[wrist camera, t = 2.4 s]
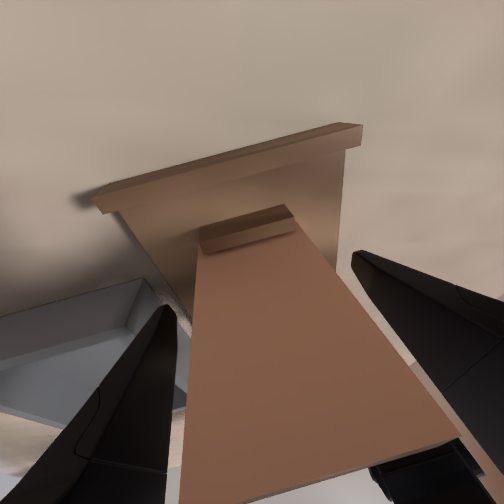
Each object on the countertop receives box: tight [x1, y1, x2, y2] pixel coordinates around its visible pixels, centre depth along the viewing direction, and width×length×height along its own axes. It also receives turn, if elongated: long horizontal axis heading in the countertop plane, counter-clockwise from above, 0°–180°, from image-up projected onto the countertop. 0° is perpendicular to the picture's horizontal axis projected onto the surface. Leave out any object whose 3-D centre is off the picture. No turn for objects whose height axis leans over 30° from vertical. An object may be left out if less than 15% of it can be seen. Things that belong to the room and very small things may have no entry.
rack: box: [91, 122, 363, 319], centre depth 14 cm, size 16×12×2 cm
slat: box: [179, 220, 462, 504], centre depth 8 cm, size 1×6×10 cm, turn 102°
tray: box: [0, 278, 191, 430], centre depth 16 cm, size 14×12×4 cm
